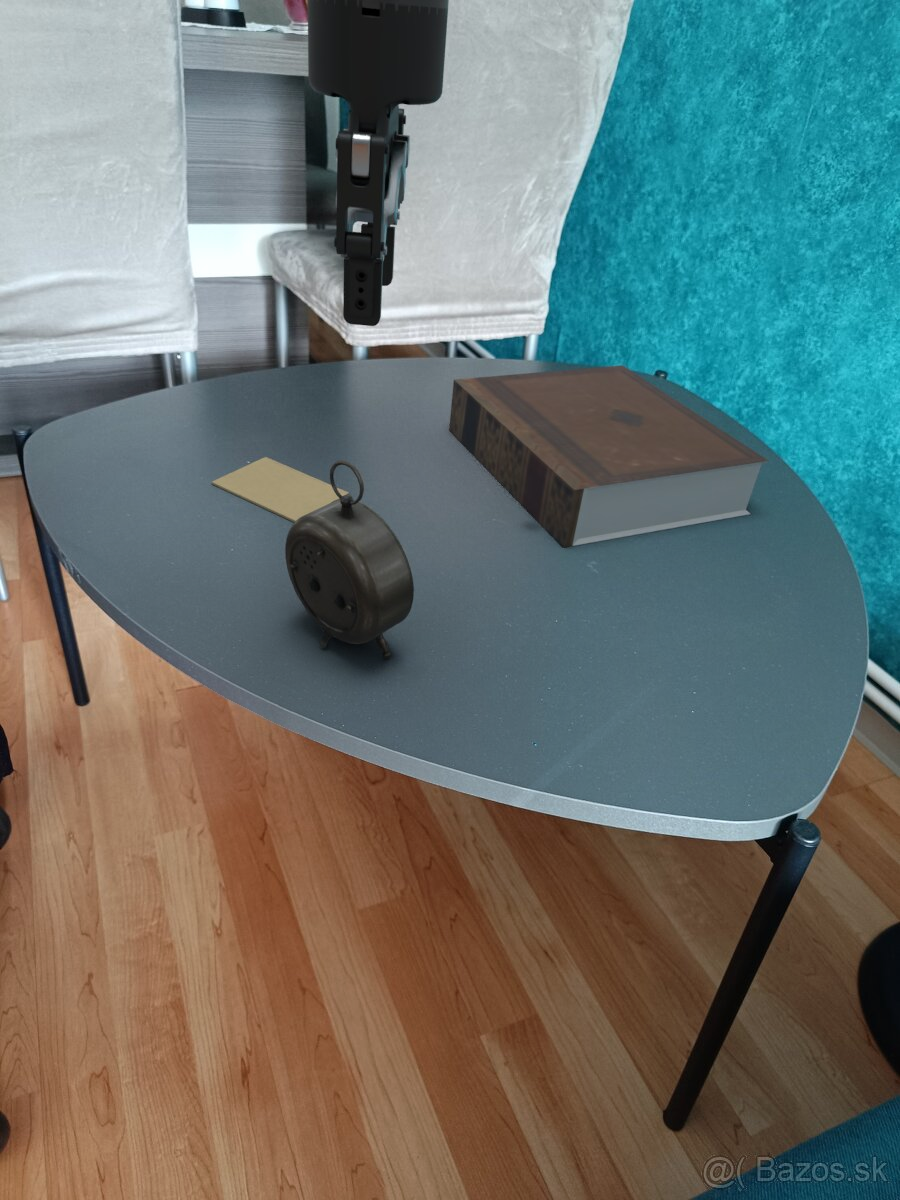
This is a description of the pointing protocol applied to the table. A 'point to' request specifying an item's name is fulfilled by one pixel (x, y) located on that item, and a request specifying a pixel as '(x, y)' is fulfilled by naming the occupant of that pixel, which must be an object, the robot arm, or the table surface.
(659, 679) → the table surface
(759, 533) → the table surface
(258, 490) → the mat
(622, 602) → the table surface
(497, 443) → the book
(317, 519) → the alarm clock
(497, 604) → the table surface
